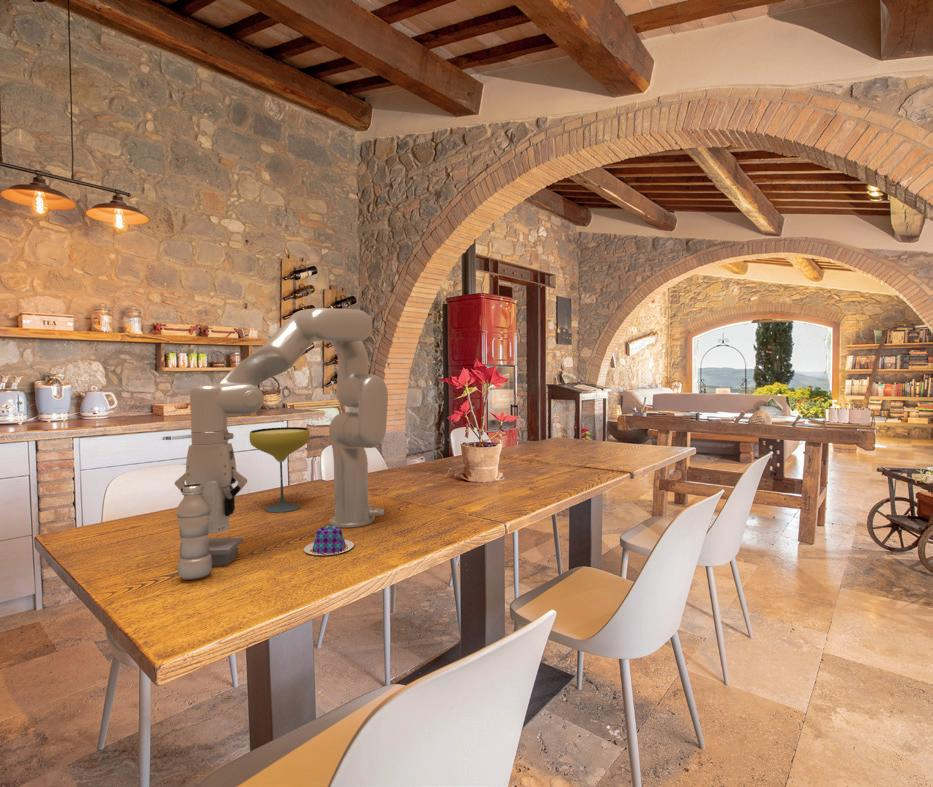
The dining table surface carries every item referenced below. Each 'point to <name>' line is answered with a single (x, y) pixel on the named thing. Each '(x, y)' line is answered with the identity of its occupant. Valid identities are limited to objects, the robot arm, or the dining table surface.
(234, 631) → the dining table surface
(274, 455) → the cocktail glass
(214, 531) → the skincare box
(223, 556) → the stand
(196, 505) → the plastic bottle
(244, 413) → the robot arm
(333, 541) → the pudding
